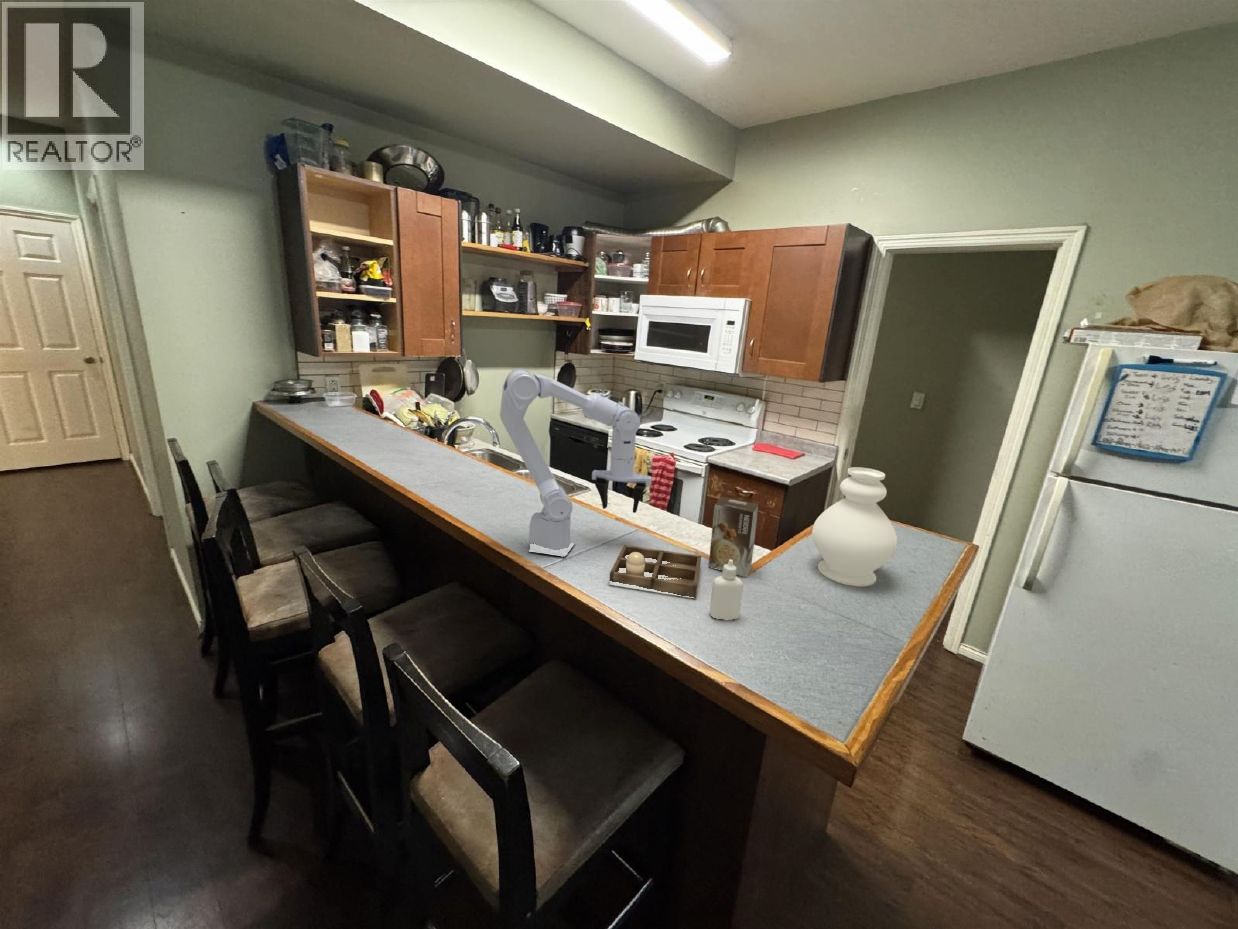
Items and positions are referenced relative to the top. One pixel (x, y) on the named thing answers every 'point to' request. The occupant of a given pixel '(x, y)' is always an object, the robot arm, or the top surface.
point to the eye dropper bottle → (726, 594)
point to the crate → (661, 571)
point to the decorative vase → (855, 531)
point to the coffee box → (733, 534)
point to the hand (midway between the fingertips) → (619, 509)
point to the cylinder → (635, 564)
